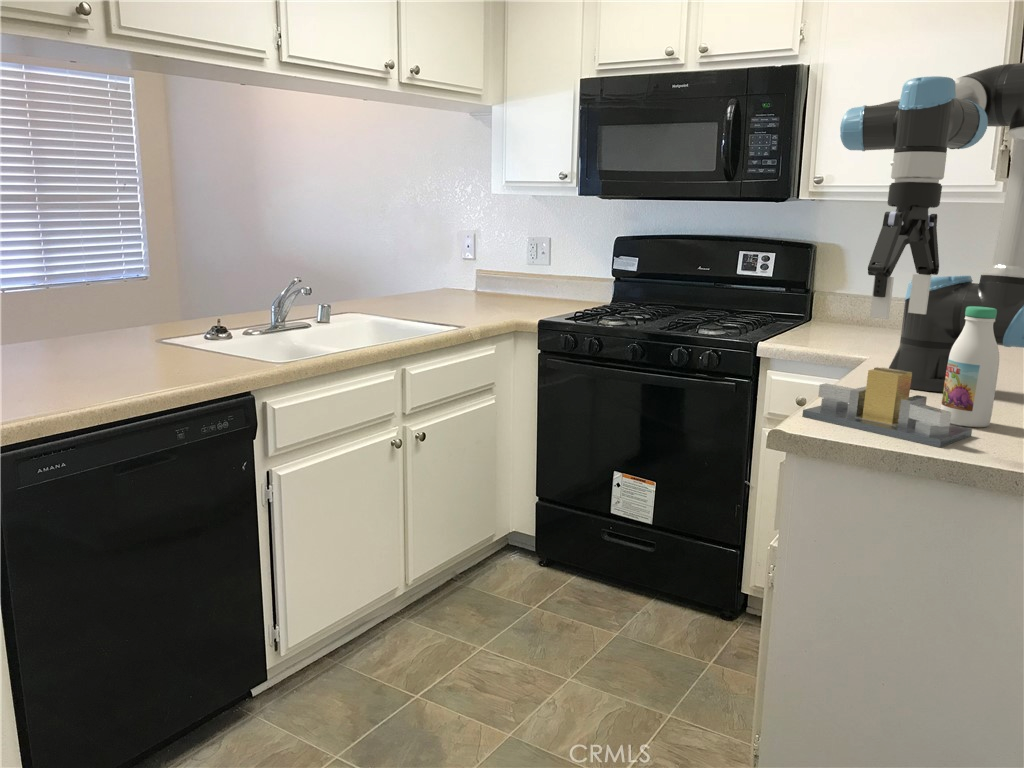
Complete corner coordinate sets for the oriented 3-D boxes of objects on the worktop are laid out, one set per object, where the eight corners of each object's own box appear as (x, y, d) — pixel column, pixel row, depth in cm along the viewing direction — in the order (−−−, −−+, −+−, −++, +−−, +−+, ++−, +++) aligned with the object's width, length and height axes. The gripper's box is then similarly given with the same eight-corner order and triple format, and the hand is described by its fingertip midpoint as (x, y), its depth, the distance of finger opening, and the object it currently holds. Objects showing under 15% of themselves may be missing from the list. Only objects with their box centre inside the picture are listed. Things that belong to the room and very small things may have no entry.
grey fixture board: (836, 407, 150) (840, 377, 149) (971, 436, 133) (976, 402, 132) (801, 416, 143) (805, 384, 141) (939, 447, 126) (945, 411, 124)
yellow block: (905, 419, 138) (912, 371, 136) (892, 423, 134) (898, 374, 133) (876, 413, 141) (882, 366, 140) (862, 417, 138) (868, 369, 136)
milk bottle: (972, 417, 146) (990, 305, 142) (999, 429, 139) (1018, 310, 135) (930, 416, 146) (946, 304, 142) (954, 427, 138) (972, 309, 134)
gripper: (925, 185, 141) (909, 309, 145) (854, 177, 125) (838, 317, 129) (972, 185, 135) (954, 314, 139) (904, 177, 119) (885, 323, 123)
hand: (898, 315), depth 134 cm, fingers open, 13 cm apart
